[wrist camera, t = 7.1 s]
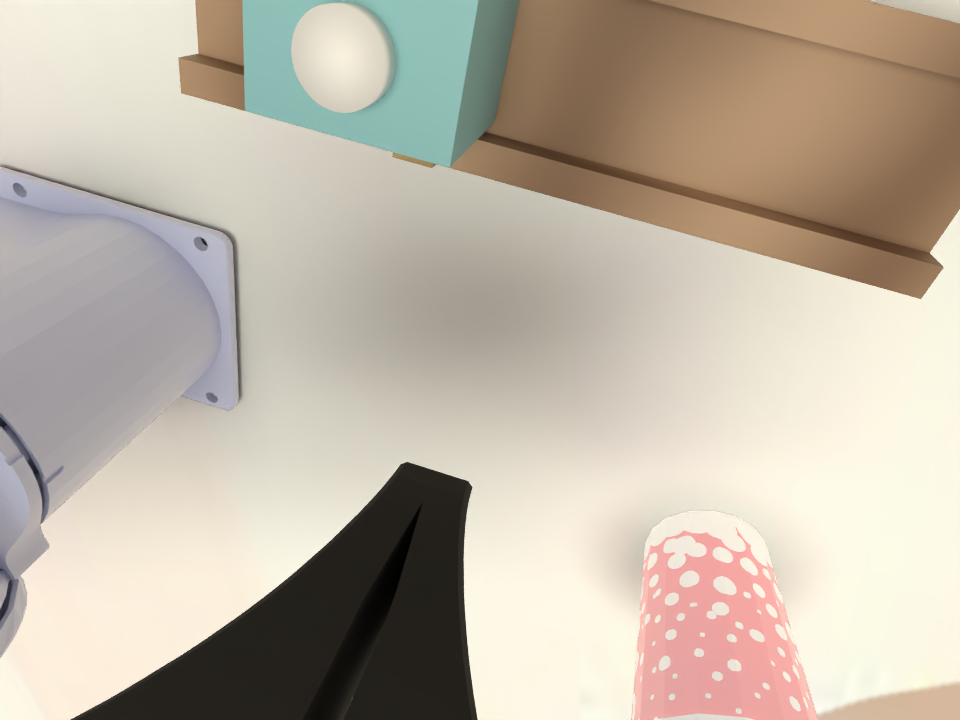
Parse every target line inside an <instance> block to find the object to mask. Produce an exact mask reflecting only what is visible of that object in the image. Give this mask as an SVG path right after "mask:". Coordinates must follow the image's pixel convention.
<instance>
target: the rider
mask: <svg viewBox="0 0 960 720" xmlns="http://www.w3.org/2000/svg"><path fill="white" fill-rule="evenodd" d="M242 4H243V47H244V89H245V111H247V112H251V113H254V114H258V115H262V116H265V117H269V118H272V119H276V120H280V121H283V122H287V123H290V124H294V125H297V126H301V127H305V128H308V129H312V130H315V131H319V132H323V133H326V134H330V135H333V136H337V137H341V138H344V139H348V140H351V141H355V142H359V143H362V144H366V145H369V146H373V147H376V148H380V149H384V150H387V151H391V152H394V153H398V154H402V155H405V156H409V157H412V158H416V159H420V160H423V161H427V162H430V163H434V164H438V165H441V166H445V167H448V168H450V167H451V166H452V165H453V164H454V163H455V162H456V161H457V160H458V159H459V158H460V157H461V156H462V155H463V154H464V153H465V152H466V151H467V150H468V149H469V148H470V146H471V145H472V144H473V143H474V142H475V141H476V140H477V139H478V138H479V137H480V136H481V135H482V134H483V133H484V132H485V131H486V130H487V129H488V128H489V127H490V126H491V125H492V124H493V123H494V122H495V117H496V112H497V107H498V102H499V97H500V93H501V88H502V83H503V78H504V73H505V68H506V64H507V59H508V54H509V49H510V44H511V39H512V34H513V30H514V25H515V20H516V15H517V10H518V5H519V0H242Z"/></svg>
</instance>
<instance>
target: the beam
mask: <svg viewBox="0 0 960 720" xmlns="http://www.w3.org/2000/svg"><path fill="white" fill-rule="evenodd" d="M195 1H196V17H197V33H198V49H199V54H195V55H190V56H185V57H180V58H179V70H180V83H181V93H183V94H187V95H190V96H194V97H197V98H201V99H205V100H208V101H212V102H215V103H219V104H223V105H226V106H230V107H233V108H237V109H240V110H244V111H245V89H244V47H243V4H242V0H195ZM392 157H394V158H398V159H402V160H405V161H409V162H412V163H416V164H420V165H423V166H427V167H430V168H432V167H434V166H435V165H436V164H434V163H430V162H427V161H423V160H420V159H416V158H412V157H409V156H405V155H402V154H398V153H394V152H393V156H392ZM450 168H452V169H456V170H460V171H463V172H467V173H470V174H474V175H478V176H481V177H485V178H488V179H492V180H496V181H499V182H503V183H506V184H510V185H514V186H517V187H521V188H524V189H528V190H531V191H535V192H539V193H542V194H546V195H549V196H553V197H557V198H560V199H564V200H567V201H571V202H575V203H578V204H582V205H585V206H589V207H593V208H596V209H600V210H603V211H607V212H611V213H614V214H618V215H621V216H625V217H628V218H632V219H636V220H639V221H643V222H646V223H650V224H654V225H657V226H661V227H664V228H668V229H672V230H675V231H679V232H682V233H686V234H690V235H693V236H697V237H700V238H704V239H708V240H711V241H715V242H718V243H722V244H725V245H729V246H733V247H736V248H740V249H743V250H747V251H751V252H754V253H758V254H761V255H765V256H769V257H772V258H776V259H779V260H783V261H787V262H790V263H794V264H797V265H801V266H805V267H808V268H812V269H815V270H819V271H822V272H826V273H830V274H833V275H837V276H840V277H844V278H848V279H851V280H855V281H858V282H862V283H866V284H869V285H873V286H876V287H880V288H884V289H887V290H891V291H894V292H898V293H902V294H905V295H909V296H912V297H916V298H919V299H921V298H922V297H923V295H924V294H925V293H926V291H927V290H928V288H929V287H930V286H931V284H932V283H933V281H934V280H935V279H936V277H937V276H938V274H939V273H940V272H941V270H942V269H943V266H942V265H941V264H940V263H939V262H938V261H937V260H936V259H935V258H934V257H933V256H932V255H931V254H930V251H931V250H932V248H933V247H934V246H935V244H936V243H937V241H938V240H939V238H940V237H941V235H942V234H943V233H944V231H945V230H946V228H947V227H948V225H949V224H950V222H951V221H952V219H953V218H954V217H955V215H956V214H957V212H958V211H959V209H960V24H959V23H955V22H951V21H947V20H943V19H938V18H934V17H930V16H926V15H922V14H918V13H914V12H910V11H906V10H902V9H898V8H893V7H889V6H885V5H881V4H877V3H873V2H869V1H865V0H519V5H518V10H517V15H516V20H515V25H514V30H513V34H512V39H511V44H510V49H509V54H508V59H507V64H506V68H505V73H504V78H503V83H502V88H501V93H500V97H499V102H498V107H497V112H496V117H495V122H494V123H493V124H492V125H491V126H490V127H489V128H488V129H487V130H486V131H485V132H484V133H483V134H482V135H481V136H480V137H479V138H478V139H477V140H476V141H475V142H474V143H473V144H472V145H471V146H470V148H469V149H468V150H467V151H466V152H465V153H464V154H463V155H462V156H461V157H460V158H459V159H458V160H457V161H456V162H455V163H454V164H453V165H452V166H451V167H450Z"/></svg>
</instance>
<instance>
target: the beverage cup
mask: <svg viewBox="0 0 960 720" xmlns="http://www.w3.org/2000/svg"><path fill="white" fill-rule="evenodd" d="M631 720H818V718H817V714H816V711H815V708H814V704H813V701H812V698H811V694H810V691H809V688H808V684H807V681H806V677H805V674H804V671H803V667H802V664H801V661H800V657H799V654H798V651H797V647H796V644H795V640H794V637H793V634H792V630H791V627H790V624H789V620H788V617H787V613H786V610H785V607H784V603H783V600H782V597H781V593H780V590H779V587H778V583H777V580H776V576H775V573H774V570H773V566H772V563H771V560H770V556H769V553H768V549H767V546H766V543H765V542H764V540H763V539H762V537H761V536H760V534H759V533H758V531H757V530H756V528H754V527H752V526H751V525H749V524H748V523H746V522H745V521H743V520H742V519H740V518H738V517H736V516H733V515H729V514H725V513H721V512H718V511H714V510H702V511H686V512H682V513H679V514H676V515H673V516H669V517H667V518H665V519H664V520H663V521H661V522H660V523H659V524H657V525H656V526H655V527H653V528H652V529H651V532H650V534H649V536H648V538H647V540H646V543H645V553H644V566H643V578H642V591H641V604H640V616H639V629H638V641H637V654H636V667H635V679H634V692H633V705H632V717H631Z"/></svg>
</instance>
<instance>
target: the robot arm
mask: <svg viewBox="0 0 960 720" xmlns="http://www.w3.org/2000/svg"><path fill="white" fill-rule="evenodd" d="M24 188H25V189H24ZM200 237H201V238H203V239H204V240H205V241H206V242H207V245H208V246H206V245H204V244H203V242H202V241H201V238H200ZM214 394H215V395H216V396H215V395H214ZM180 396H183V397H187V398H190V399H193V400H196V401H199V402H202V403H205V404H209V405H212V406H215V407H218V408H221V409H225V410H231V409H233V408H234V407H235V406H236V405H237V404H238V402H239V390H238V364H237V339H236V313H235V288H234V263H233V246H232V242H231V241H230V239H229V238H228V237H227V236H226V235H225V234H224V233H222V232H220V231H217V230H214V229H210V228H207V227H204V226H200V225H197V224H193V223H190V222H187V221H183V220H180V219H176V218H173V217H170V216H166V215H163V214H160V213H156V212H153V211H149V210H146V209H143V208H139V207H136V206H132V205H129V204H126V203H122V202H119V201H115V200H112V199H109V198H105V197H102V196H99V195H95V194H92V193H88V192H85V191H82V190H78V189H75V188H71V187H68V186H65V185H61V184H58V183H54V182H51V181H48V180H44V179H41V178H38V177H34V176H31V175H27V174H24V173H21V172H17V171H14V170H10V169H7V168H4V167H0V658H1V657H2V655H3V654H4V652H5V651H6V649H7V647H8V646H9V644H10V643H11V641H12V640H13V638H14V636H15V634H16V632H17V630H18V628H19V626H20V624H21V622H22V620H23V616H24V613H25V609H26V606H27V591H26V587H25V583H24V580H23V579H22V577H21V576H20V575H21V574H22V573H23V572H24V571H26V570H27V569H28V568H29V567H30V566H31V565H32V564H33V563H34V562H35V561H36V560H37V559H38V558H39V557H40V556H41V555H42V554H43V553H44V552H45V551H46V550H47V549H48V548H49V543H48V542H47V540H46V538H45V537H44V535H43V532H42V530H41V526H40V524H41V523H43V522H44V521H45V520H46V519H47V518H48V517H49V516H50V515H51V514H52V513H53V512H55V511H56V510H57V509H58V508H59V507H60V506H61V505H62V504H63V503H64V502H65V501H66V500H68V499H69V498H70V497H71V496H72V495H73V494H74V493H75V492H76V491H77V490H78V489H80V488H81V487H82V486H83V485H84V484H85V483H86V482H87V481H88V480H89V479H90V478H91V477H93V476H94V475H95V474H96V473H97V472H98V471H99V470H100V469H101V468H102V467H103V466H105V465H106V464H107V463H108V462H109V461H110V460H111V459H112V458H113V457H114V456H115V455H116V454H118V453H119V452H120V451H121V450H122V449H123V448H124V447H125V446H126V445H127V444H128V443H130V442H131V441H132V440H133V439H134V438H135V437H136V436H137V435H138V434H139V433H140V432H141V431H143V430H144V429H145V428H146V427H147V426H148V425H149V424H150V423H151V422H152V421H153V420H155V419H156V418H157V417H158V416H159V415H160V414H161V413H162V412H163V411H164V410H165V409H166V408H168V407H169V406H170V405H171V404H172V403H173V402H174V401H175V400H176V399H177V398H178V397H180ZM471 490H472V486H471V485H470V483H469V482H468V481H465V480H462V479H459V478H456V477H453V476H450V475H447V474H443V473H440V472H437V471H434V470H431V469H428V468H424V467H421V466H418V465H415V464H412V463H409V462H406V463H403V464H401V465H400V466H399V468H398V469H397V470H396V472H395V473H394V474H393V475H392V477H391V478H390V479H389V480H388V482H387V483H386V484H385V485H384V486H383V488H382V489H381V490H380V491H379V492H378V493H377V494H376V495H375V497H374V498H373V499H372V500H371V501H370V502H369V503H368V504H367V505H366V506H365V507H364V508H363V509H362V510H361V511H360V513H359V514H358V515H356V516H355V517H354V518H353V519H352V520H351V521H350V522H349V523H348V524H347V525H346V526H345V527H344V528H343V529H342V530H341V531H340V532H339V533H338V534H337V535H336V536H335V537H334V538H333V539H332V540H331V541H330V542H329V543H328V544H327V545H326V546H324V547H323V548H322V549H321V550H320V551H319V552H318V553H316V554H315V555H314V556H313V557H312V558H311V559H310V560H308V561H307V562H306V563H305V564H304V565H303V566H302V567H301V568H299V569H298V570H297V571H296V572H295V573H294V574H292V575H291V576H290V577H289V578H288V579H286V580H285V581H284V582H283V583H281V584H280V585H279V586H278V587H276V588H275V589H274V590H273V591H271V592H270V593H269V594H268V595H266V596H265V597H264V598H262V599H261V600H260V601H258V602H257V603H256V604H254V605H253V606H252V607H251V608H249V609H248V610H247V611H245V612H244V613H242V614H241V615H240V616H238V617H237V618H235V619H234V620H233V621H231V622H230V623H228V624H227V625H225V626H224V627H223V628H221V629H220V630H218V631H217V632H215V633H214V634H213V635H211V636H210V637H208V638H207V639H205V640H204V641H202V642H201V643H199V644H198V645H196V646H195V647H193V648H192V649H190V650H189V651H187V652H186V653H184V654H183V655H181V656H179V657H178V658H176V659H175V660H173V661H171V662H170V663H168V664H166V665H165V666H163V667H161V668H160V669H158V670H156V671H155V672H153V673H152V674H150V675H148V676H147V677H145V678H143V679H142V680H140V681H138V682H137V683H135V684H133V685H132V686H130V687H129V688H127V689H125V690H124V691H122V692H120V693H118V694H117V695H115V696H113V697H111V698H110V699H108V700H106V701H104V702H103V703H101V704H99V705H97V706H95V707H93V708H91V709H90V710H88V711H86V712H84V713H82V714H80V715H78V716H76V717H75V718H73V719H71V720H477V714H476V708H475V701H474V695H473V688H472V680H471V673H470V665H469V656H468V646H467V635H466V621H465V606H464V561H463V558H464V535H465V522H466V514H467V507H468V502H469V498H470V494H471ZM351 700H352V701H351Z"/></svg>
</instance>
